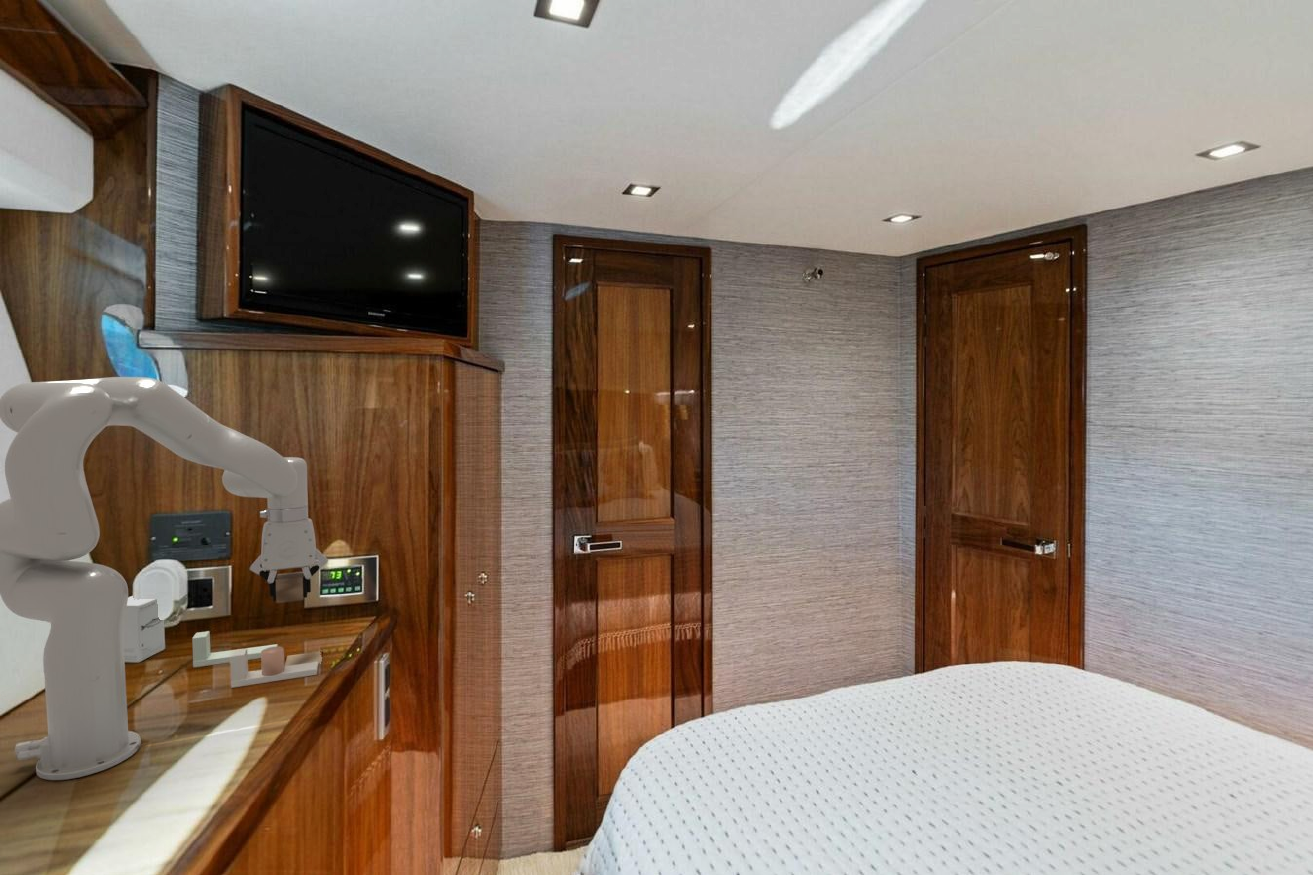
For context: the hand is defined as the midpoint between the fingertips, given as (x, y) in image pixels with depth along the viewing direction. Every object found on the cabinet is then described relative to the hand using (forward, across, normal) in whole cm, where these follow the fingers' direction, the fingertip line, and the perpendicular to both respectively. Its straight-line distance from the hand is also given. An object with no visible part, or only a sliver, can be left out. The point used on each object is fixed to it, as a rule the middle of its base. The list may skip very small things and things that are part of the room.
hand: (290, 596), depth 139 cm
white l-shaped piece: (+14, -11, +5) cm, 18 cm away
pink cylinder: (+13, -3, -9) cm, 16 cm away
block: (0, 0, 0) cm, 0 cm away
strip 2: (+14, -2, -9) cm, 17 cm away
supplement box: (+15, -31, +18) cm, 38 cm away
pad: (+14, +2, -2) cm, 14 cm away
